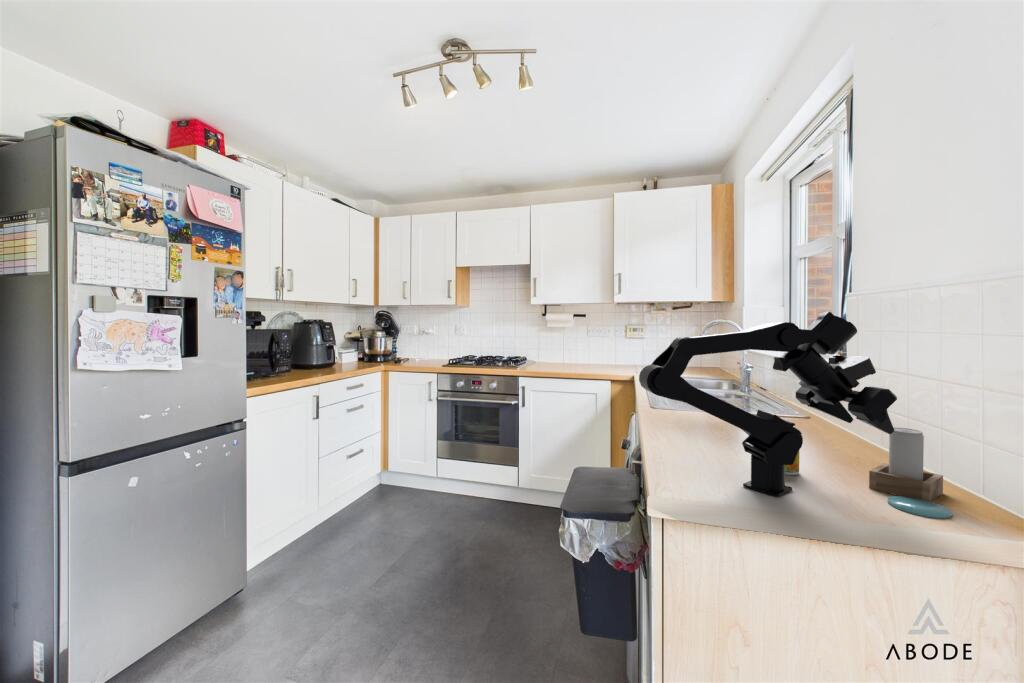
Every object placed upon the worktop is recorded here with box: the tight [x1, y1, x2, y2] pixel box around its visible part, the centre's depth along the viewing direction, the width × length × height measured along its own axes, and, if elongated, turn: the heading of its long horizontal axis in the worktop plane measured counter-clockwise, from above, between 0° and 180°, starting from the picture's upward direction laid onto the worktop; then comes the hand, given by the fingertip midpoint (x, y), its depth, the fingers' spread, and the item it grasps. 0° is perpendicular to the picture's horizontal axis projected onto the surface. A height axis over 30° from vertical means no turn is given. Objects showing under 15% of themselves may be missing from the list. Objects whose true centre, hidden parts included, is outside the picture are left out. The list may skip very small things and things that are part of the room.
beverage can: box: [888, 427, 925, 481], centre depth 78 cm, size 5×5×12 cm
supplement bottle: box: [785, 450, 800, 476], centre depth 89 cm, size 5×5×10 cm
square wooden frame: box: [868, 463, 944, 502], centre depth 78 cm, size 9×9×4 cm
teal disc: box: [887, 495, 953, 519], centre depth 70 cm, size 8×8×1 cm
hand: (870, 426), depth 78 cm, fingers open, 9 cm apart
